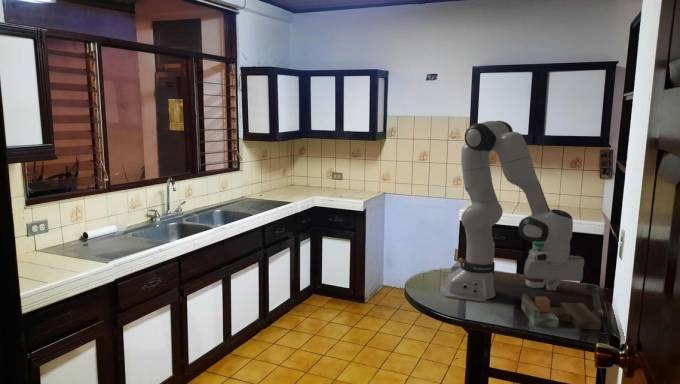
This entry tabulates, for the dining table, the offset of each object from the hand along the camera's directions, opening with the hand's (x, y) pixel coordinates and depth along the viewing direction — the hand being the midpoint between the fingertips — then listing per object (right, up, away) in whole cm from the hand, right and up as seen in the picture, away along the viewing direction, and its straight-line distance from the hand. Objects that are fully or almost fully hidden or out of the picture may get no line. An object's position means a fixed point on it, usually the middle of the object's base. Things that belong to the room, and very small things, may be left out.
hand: (550, 290), depth 179 cm
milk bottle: (+8, -5, +34) cm, 35 cm away
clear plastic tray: (+3, -11, +1) cm, 11 cm away
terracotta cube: (-3, -8, +1) cm, 8 cm away
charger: (-19, -2, +51) cm, 54 cm away
